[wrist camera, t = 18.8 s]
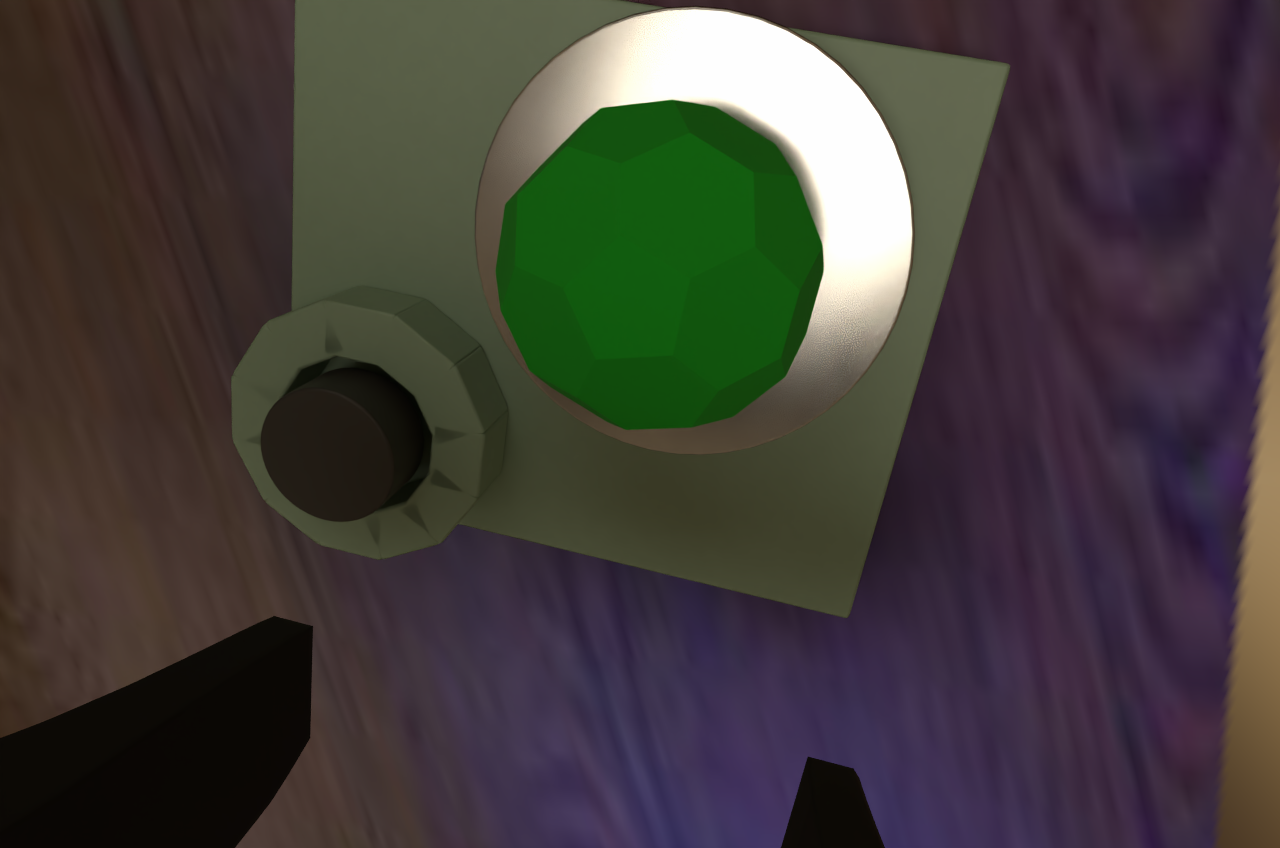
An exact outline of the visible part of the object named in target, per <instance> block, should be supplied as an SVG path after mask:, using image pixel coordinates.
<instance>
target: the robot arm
mask: <svg viewBox="0 0 1280 848" xmlns="http://www.w3.org/2000/svg"><path fill="white" fill-rule="evenodd" d="M312 639H313V626H310V625H306V624H302V623H299V622H295V621H291V620H287V619H283V618H280V617H276V616H273V617H271V618H269V619H266V620H264V621H262V622H260V623H257V624H255V625H253V626H251V627H249V628H247V629H245V630H242V631H240V632H238V633H236V634H234V635H232V636H230V637H228V638H226V639H224V640H222V641H220V642H218V643H216V644H214V645H212V646H210V647H207V648H205V649H203V650H201V651H199V652H197V653H195V654H193V655H191V656H189V657H187V658H185V659H183V660H181V661H179V662H176V663H174V664H172V665H170V666H168V667H166V668H164V669H162V670H160V671H158V672H155V673H153V674H151V675H149V676H147V677H145V678H143V679H141V680H139V681H137V682H134V683H132V684H130V685H128V686H126V687H123V688H121V689H119V690H116V691H114V692H112V693H109V694H107V695H105V696H102V697H100V698H98V699H95V700H93V701H91V702H89V703H86V704H84V705H82V706H79V707H77V708H75V709H72V710H70V711H68V712H65V713H63V714H61V715H58V716H56V717H54V718H52V719H49V720H47V721H44V722H41V723H39V724H36V725H34V726H31V727H29V728H26V729H24V730H21V731H18V732H16V733H13V734H10V735H8V736H5V737H2V738H0V848H235V847H236V846H237V844H238V843H239V842H240V841H241V839H242V838H243V837H244V836H245V834H246V833H247V832H248V831H249V829H250V828H251V827H252V825H253V824H254V823H255V822H256V820H257V819H258V818H259V817H260V815H261V814H262V813H263V811H264V810H265V809H266V807H267V806H268V805H269V804H270V802H271V801H272V799H273V798H274V796H275V795H276V793H277V791H278V790H279V788H280V787H281V785H282V784H283V782H284V780H285V779H286V777H287V776H288V774H289V773H290V771H291V769H292V768H293V766H294V764H295V762H296V761H297V759H298V757H299V756H300V754H301V752H302V751H303V749H304V747H305V746H306V744H307V742H308V741H309V739H310V721H311V680H312ZM781 848H885V847H884V844H883V842H882V839H881V837H880V834H879V832H878V829H877V827H876V824H875V821H874V819H873V816H872V814H871V811H870V808H869V805H868V802H867V800H866V797H865V794H864V791H863V788H862V785H861V782H860V779H859V777H858V775H857V774H856V772H855V771H854V769H853V768H849V767H845V766H841V765H838V764H834V763H830V762H826V761H822V760H819V759H815V758H811V757H808V758H807V761H806V765H805V768H804V772H803V775H802V778H801V782H800V785H799V789H798V792H797V795H796V799H795V802H794V806H793V809H792V812H791V816H790V819H789V823H788V826H787V829H786V833H785V836H784V840H783V843H782V846H781Z"/></svg>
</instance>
